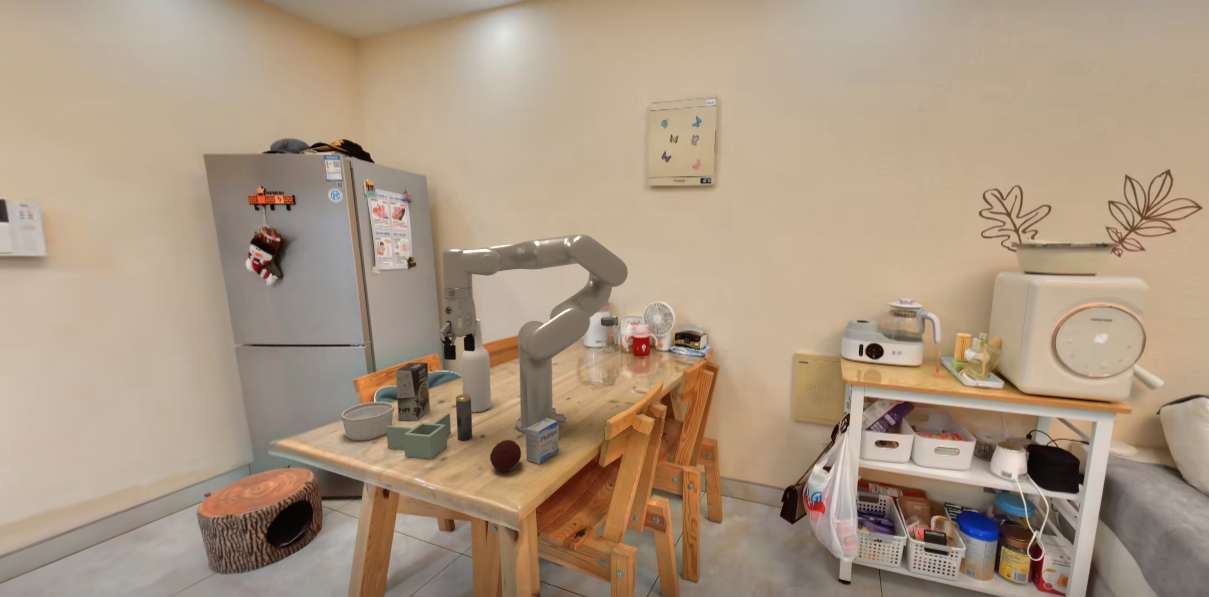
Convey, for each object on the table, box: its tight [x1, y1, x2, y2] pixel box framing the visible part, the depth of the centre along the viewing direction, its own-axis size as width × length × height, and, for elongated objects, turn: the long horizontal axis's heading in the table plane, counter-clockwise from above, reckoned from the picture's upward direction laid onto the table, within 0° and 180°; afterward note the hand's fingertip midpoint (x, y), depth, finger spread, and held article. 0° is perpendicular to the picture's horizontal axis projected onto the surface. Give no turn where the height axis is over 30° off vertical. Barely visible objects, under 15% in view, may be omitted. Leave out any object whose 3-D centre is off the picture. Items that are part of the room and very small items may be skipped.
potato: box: [489, 439, 522, 473], centre depth 104 cm, size 7×8×7 cm
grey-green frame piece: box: [386, 412, 452, 460], centre depth 117 cm, size 15×15×6 cm
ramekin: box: [340, 401, 395, 441], centre depth 124 cm, size 13×13×7 cm
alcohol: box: [461, 318, 492, 414], centre depth 141 cm, size 9×9×30 cm
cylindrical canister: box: [455, 393, 473, 442], centre depth 120 cm, size 4×4×12 cm
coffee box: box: [395, 362, 431, 422], centre depth 136 cm, size 9×6×16 cm
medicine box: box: [525, 418, 560, 465], centre depth 110 cm, size 8×4×9 cm, turn 148°
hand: (460, 355), depth 119 cm, fingers open, 9 cm apart
